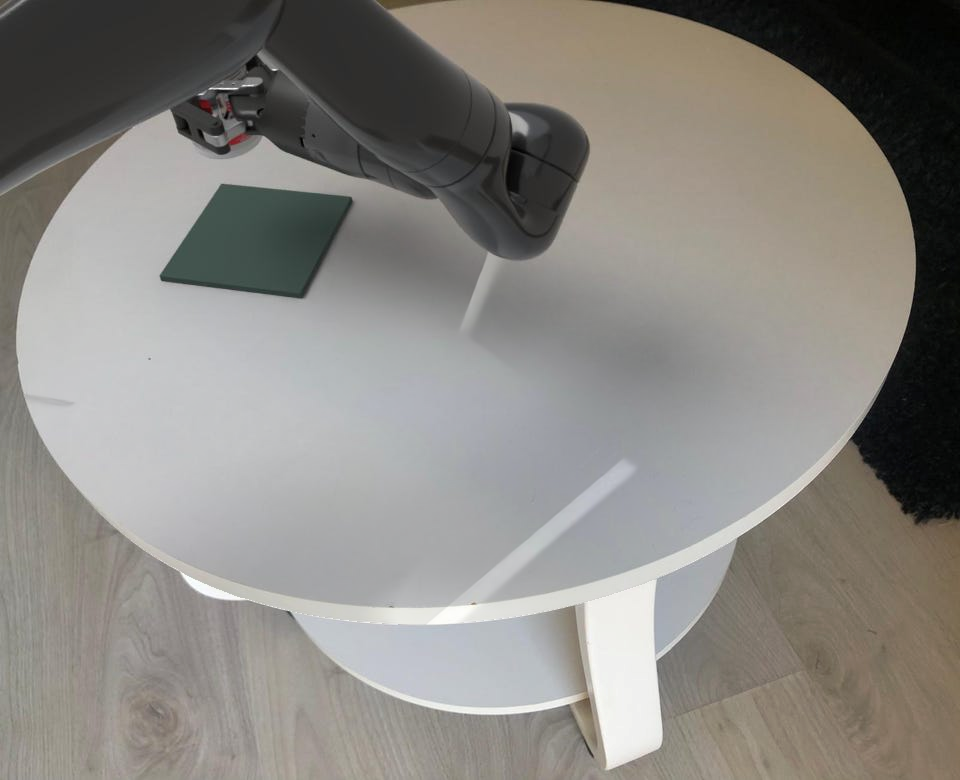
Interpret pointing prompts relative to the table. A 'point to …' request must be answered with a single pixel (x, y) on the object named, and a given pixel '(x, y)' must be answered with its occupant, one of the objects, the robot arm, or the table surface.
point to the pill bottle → (240, 142)
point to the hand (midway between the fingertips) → (188, 67)
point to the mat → (258, 240)
